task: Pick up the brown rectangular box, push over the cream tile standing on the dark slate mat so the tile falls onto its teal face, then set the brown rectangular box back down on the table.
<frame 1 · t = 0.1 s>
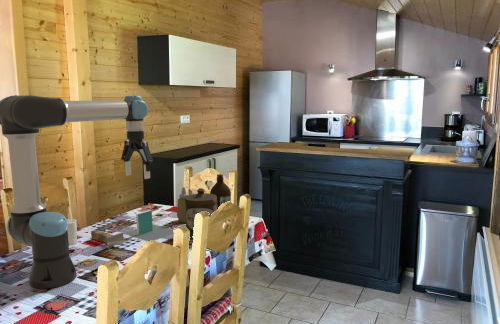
hand: (137, 177, 191), 28 cm above the table, tool pointing down, fingers open, 13 cm apart
brown rectangular box: (104, 242, 188), on the table
slate mat: (151, 233, 199), on the table
squeeze bottle: (184, 221, 217), on the table
tile: (145, 232, 198), point 1 cm above the table, touching slate mat
wooden container: (202, 234, 196), on the table
olive oil: (221, 223, 214), on the table
white cup: (68, 243, 187), on the table
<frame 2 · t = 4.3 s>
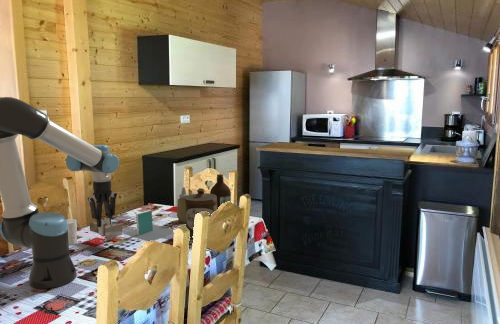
hand: (104, 232, 186), 5 cm above the table, tool pointing down, fingers closed on brown rectangular box, 2 cm apart
brown rectangular box: (102, 233, 187), point 4 cm above the table, touching gripper
everything else where it was.
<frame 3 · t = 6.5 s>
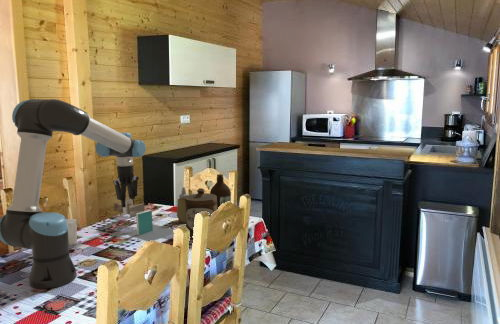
hand: (128, 212, 205), 8 cm above the table, tool pointing down, fingers closed on brown rectangular box, 2 cm apart
brown rectangular box: (126, 212, 205), point 8 cm above the table, touching gripper
everything else where it was.
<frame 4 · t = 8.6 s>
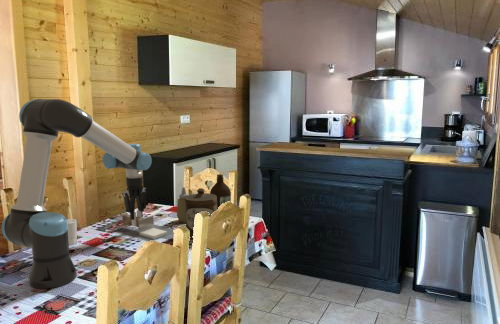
hand: (137, 224, 201), 3 cm above the table, tool pointing down, fingers closed on brown rectangular box, 2 cm apart
brown rectangular box: (135, 225, 202), point 3 cm above the table, touching gripper
tile: (146, 231, 198), point 1 cm above the table, tilted 90°, touching slate mat
everything else where it was.
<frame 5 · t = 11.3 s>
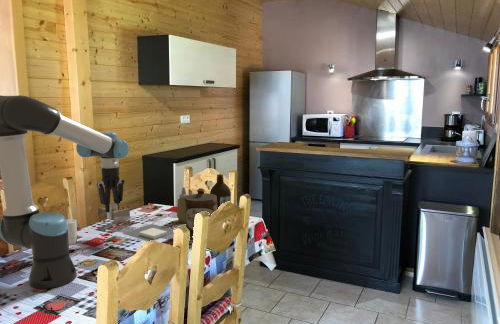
hand: (112, 218, 191), 10 cm above the table, tool pointing down, fingers closed on brown rectangular box, 2 cm apart
brown rectangular box: (110, 218, 192), point 9 cm above the table, touching gripper
everything else where it was.
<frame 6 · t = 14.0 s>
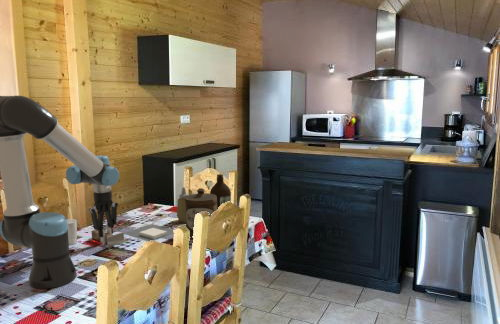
hand: (106, 242, 187), 0 cm above the table, tool pointing down, fingers closed on brown rectangular box, 3 cm apart
brown rectangular box: (104, 242, 188), on the table, touching gripper
everything else where it was.
when the fingers open (0 cm above the table, at t = 14.1 s): brown rectangular box stays where it is, on the table.
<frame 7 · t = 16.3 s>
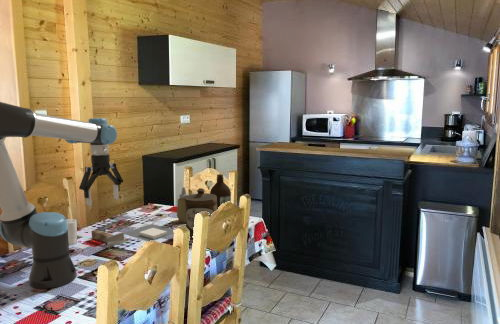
hand: (103, 202, 184), 18 cm above the table, tool pointing down, fingers open, 13 cm apart
brown rectangular box: (104, 242, 188), on the table
everything else where it was.
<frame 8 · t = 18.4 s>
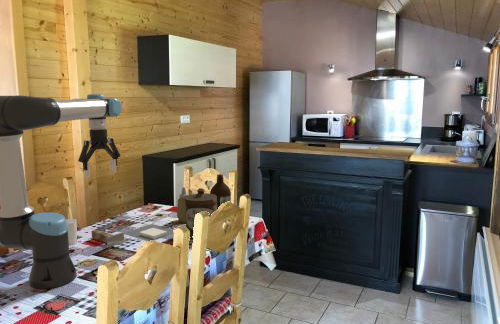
hand: (101, 175, 193), 29 cm above the table, tool pointing down, fingers open, 13 cm apart
nothing on the table moved.
at the end: tile tilted 90°; tile inside the target area (0.0 cm from its centre), point 1.3 cm above the table; brown rectangular box inside the target area (0.3 cm from its centre), on the table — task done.
